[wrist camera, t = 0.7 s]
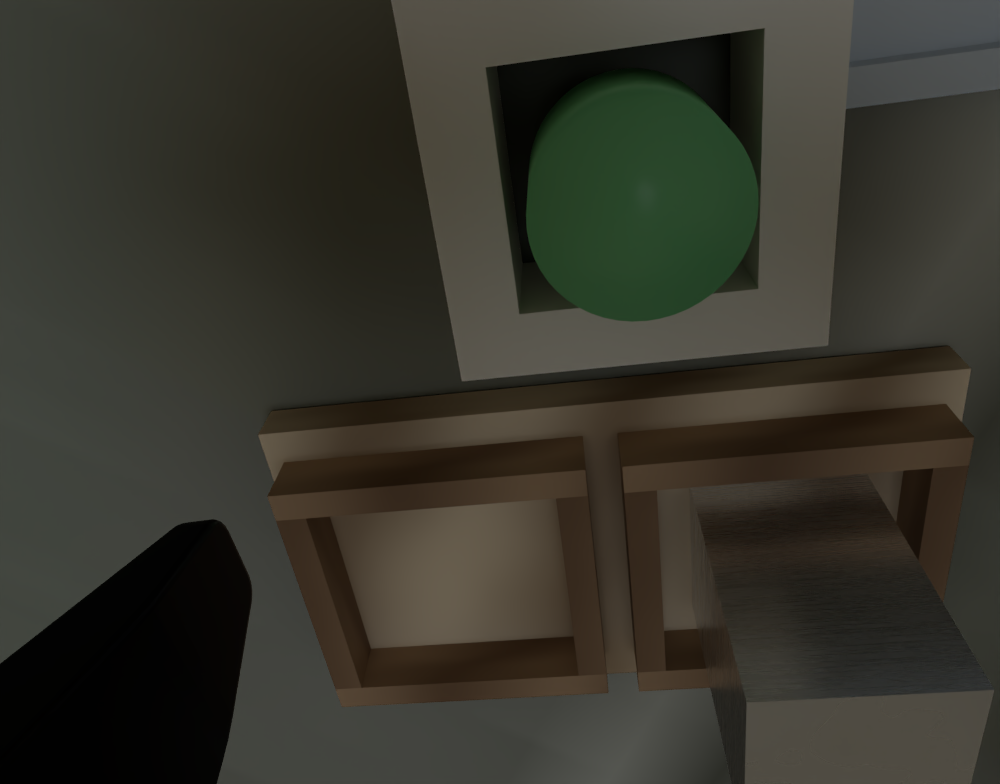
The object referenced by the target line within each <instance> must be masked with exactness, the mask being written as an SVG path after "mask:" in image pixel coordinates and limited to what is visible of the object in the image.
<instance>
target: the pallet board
mask: <svg viewBox="0 0 1000 784" xmlns="http://www.w3.org/2000/svg"><path fill="white" fill-rule="evenodd" d="M970 373H971V368H970V367H969V366H968V365H967V364H966V363H965V362H964V361H963V360H962V358H961V357H960V356H959V355H958V354H957V353H956V352H955V351H954V350H953V349H952V348H951V347H950V346H944V347H933V348H923V349H913V350H902V351H892V352H881V353H871V354H860V355H850V356H840V357H829V358H819V359H808V360H798V361H788V362H777V363H767V364H756V365H746V366H736V367H725V368H715V369H704V370H694V371H683V372H673V373H663V374H652V375H642V376H631V377H621V378H611V379H600V380H590V381H579V382H569V383H559V384H548V385H538V386H527V387H517V388H506V389H496V390H486V391H475V392H465V393H454V394H444V395H434V396H423V397H413V398H402V399H392V400H381V401H371V402H361V403H350V404H340V405H329V406H319V407H309V408H298V409H288V410H277V411H271V413H270V414H269V416H268V418H267V420H266V421H265V423H264V425H263V427H262V429H261V430H260V432H259V434H258V436H259V439H260V442H261V445H262V448H263V451H264V453H265V456H266V459H267V462H268V465H269V468H270V471H271V474H272V477H273V480H274V484H273V486H272V488H271V490H270V492H269V494H268V496H267V497H268V500H269V502H270V505H271V508H272V511H273V514H274V516H275V519H276V522H277V525H278V528H279V531H280V533H281V536H282V539H283V542H284V545H285V548H286V550H287V553H288V556H289V559H290V562H291V564H292V567H293V570H294V573H295V576H296V579H297V581H298V584H299V587H300V590H301V593H302V596H303V598H304V601H305V604H306V607H307V610H308V612H309V615H310V618H311V621H312V624H313V627H314V629H315V632H316V635H317V638H318V641H319V643H320V646H321V649H322V652H323V655H324V658H325V660H326V663H327V666H328V669H329V672H330V675H331V677H332V680H333V683H334V686H335V689H336V691H337V694H338V697H339V700H340V703H341V706H342V707H351V706H370V705H389V704H408V703H427V702H446V701H465V700H484V699H502V698H521V697H540V696H559V695H578V694H597V693H608V682H607V674H611V673H629V672H637V677H638V685H639V691H653V690H672V689H691V688H710V683H709V679H708V674H707V670H706V665H705V661H704V656H703V651H702V647H701V642H700V638H699V633H698V628H697V624H696V619H695V615H694V610H693V606H692V569H691V528H690V488H693V487H705V486H718V485H730V484H743V483H755V482H768V481H780V480H793V479H805V478H818V477H830V476H843V475H855V474H868V476H869V478H870V480H871V481H872V483H873V485H874V486H875V488H876V490H877V491H878V493H879V495H880V497H881V498H882V500H883V502H884V503H885V505H886V507H887V508H888V510H889V512H890V513H891V515H892V517H893V519H894V520H895V522H896V524H897V525H898V527H899V529H900V530H901V532H902V534H903V536H904V537H905V539H906V541H907V542H908V544H909V546H910V547H911V549H912V551H913V553H914V554H915V556H916V558H917V559H918V561H919V563H920V564H921V566H922V568H923V570H924V571H925V573H926V575H927V576H928V578H929V580H930V581H931V583H932V585H933V586H934V588H935V590H936V592H937V593H938V595H939V597H940V598H941V600H942V602H943V600H944V595H945V589H946V584H947V579H948V574H949V568H950V563H951V558H952V552H953V547H954V542H955V536H956V531H957V526H958V521H959V515H960V510H961V505H962V499H963V494H964V489H965V484H966V478H967V473H968V468H969V462H970V457H971V452H972V447H973V441H974V436H973V435H972V434H971V433H970V432H969V430H968V429H967V428H966V427H965V426H964V424H963V423H962V418H963V412H964V406H965V401H966V395H967V389H968V384H969V378H970Z"/></svg>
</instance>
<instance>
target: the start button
mask: <svg viewBox="0 0 1000 784" xmlns="http://www.w3.org/2000/svg"><path fill="white" fill-rule="evenodd" d="M758 205H759V200H758V186H757V181H756V175H755V172H754V169H753V166H752V163H751V160H750V158H749V156H748V154H747V152H746V150H745V148H744V147H743V145H742V144H741V142H740V141H739V140H738V138H737V137H736V135H735V134H734V133H733V132H732V131H731V130H730V129H729V128H728V126H727V125H726V124H725V123H724V122H723V121H722V120H721V119H720V118H719V117H718V115H717V114H716V113H715V112H714V111H713V110H712V109H711V108H710V107H709V106H708V105H707V103H706V102H705V101H704V100H703V99H702V98H701V97H700V96H699V95H698V94H697V93H696V92H695V91H694V90H693V89H691V88H690V87H689V86H687V85H686V84H685V83H683V82H682V81H680V80H678V79H676V78H674V77H672V76H670V75H667V74H664V73H662V72H659V71H654V70H649V69H640V68H626V69H617V70H612V71H607V72H604V73H601V74H598V75H595V76H593V77H591V78H589V79H587V80H585V81H583V82H581V83H579V84H578V85H577V86H575V87H574V88H572V89H571V90H569V91H568V92H567V93H566V94H565V95H564V96H563V97H561V98H560V99H559V100H558V101H557V103H556V104H555V105H554V106H553V107H552V108H551V110H550V111H549V112H548V114H547V115H546V117H545V118H544V120H543V121H542V123H541V126H540V128H539V130H538V132H537V134H536V137H535V140H534V142H533V145H532V150H531V155H530V162H529V176H528V192H527V208H526V225H527V234H528V239H529V244H530V247H531V250H532V253H533V256H534V259H535V261H536V263H537V265H538V267H539V269H540V271H541V272H542V273H543V275H544V276H545V278H546V279H547V281H548V282H549V283H550V284H551V285H552V286H553V288H554V289H555V290H556V291H557V292H558V293H559V294H561V295H562V296H563V297H564V298H565V299H567V300H568V301H569V302H571V303H572V304H574V305H576V306H577V307H579V308H581V309H583V310H585V311H587V312H589V313H591V314H594V315H597V316H600V317H603V318H608V319H613V320H618V321H631V322H634V321H649V320H655V319H661V318H664V317H668V316H672V315H675V314H677V313H680V312H682V311H685V310H687V309H689V308H691V307H693V306H694V305H696V304H698V303H700V302H701V301H703V300H704V299H706V298H707V297H708V296H710V295H711V294H713V293H714V292H715V291H716V290H717V289H718V288H719V287H720V286H722V285H723V284H724V283H725V281H726V280H727V279H728V278H729V277H730V276H731V275H732V274H733V272H734V271H735V269H736V268H737V267H738V265H739V264H740V262H741V261H742V259H743V257H744V255H745V253H746V251H747V249H748V247H749V245H750V242H751V240H752V237H753V234H754V231H755V226H756V222H757V216H758Z"/></svg>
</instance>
